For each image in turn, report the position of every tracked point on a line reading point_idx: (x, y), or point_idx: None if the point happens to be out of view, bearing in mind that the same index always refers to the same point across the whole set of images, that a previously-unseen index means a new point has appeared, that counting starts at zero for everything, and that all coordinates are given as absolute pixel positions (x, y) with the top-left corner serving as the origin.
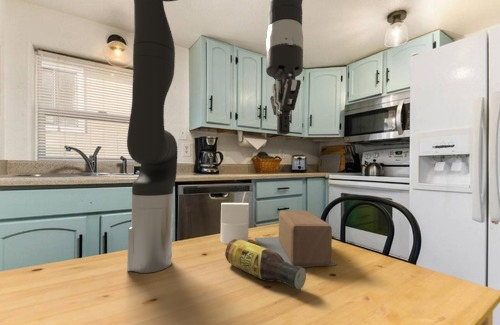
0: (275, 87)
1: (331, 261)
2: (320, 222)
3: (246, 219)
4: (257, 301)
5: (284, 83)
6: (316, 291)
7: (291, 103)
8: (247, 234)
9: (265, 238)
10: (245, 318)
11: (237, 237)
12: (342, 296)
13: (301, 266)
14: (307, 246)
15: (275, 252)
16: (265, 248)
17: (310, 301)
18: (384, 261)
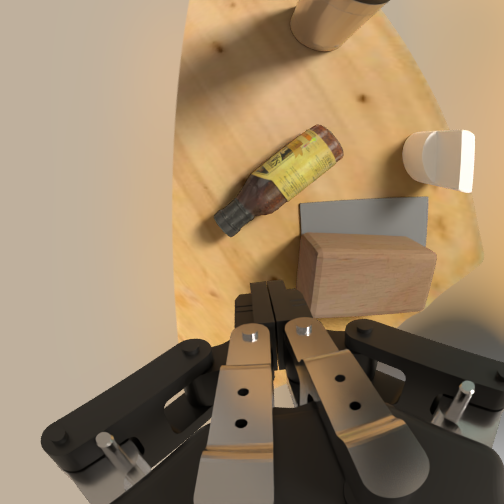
0: (351, 472)
1: None
2: (330, 306)
3: (439, 181)
4: (208, 165)
5: (142, 480)
6: (229, 243)
7: (203, 410)
8: (421, 180)
9: (422, 215)
10: (176, 150)
11: (409, 159)
12: (217, 269)
13: None
14: (304, 264)
15: (269, 202)
16: (284, 188)
17: (206, 229)
18: None
